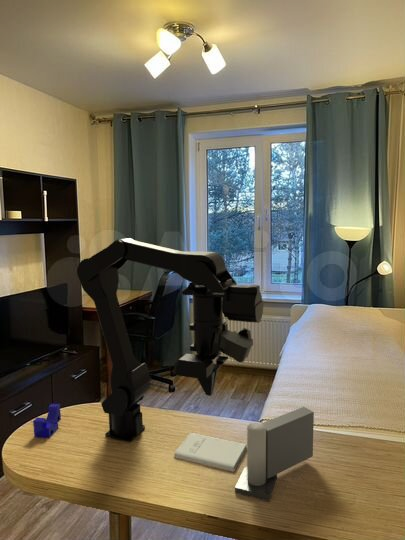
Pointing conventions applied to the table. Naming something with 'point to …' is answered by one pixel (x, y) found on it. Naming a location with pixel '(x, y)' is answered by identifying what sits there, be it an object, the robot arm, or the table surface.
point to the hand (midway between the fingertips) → (209, 394)
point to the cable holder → (47, 422)
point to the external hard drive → (211, 451)
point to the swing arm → (278, 444)
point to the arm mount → (255, 487)
